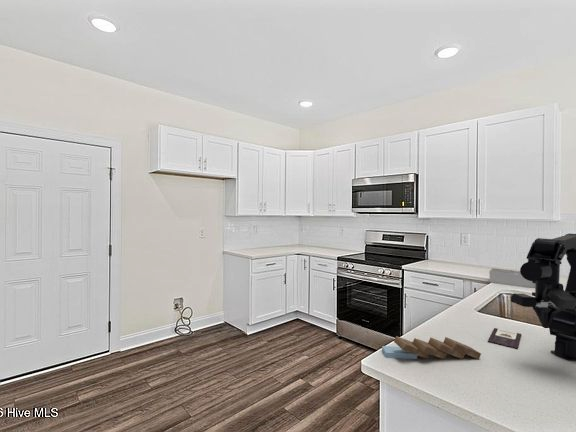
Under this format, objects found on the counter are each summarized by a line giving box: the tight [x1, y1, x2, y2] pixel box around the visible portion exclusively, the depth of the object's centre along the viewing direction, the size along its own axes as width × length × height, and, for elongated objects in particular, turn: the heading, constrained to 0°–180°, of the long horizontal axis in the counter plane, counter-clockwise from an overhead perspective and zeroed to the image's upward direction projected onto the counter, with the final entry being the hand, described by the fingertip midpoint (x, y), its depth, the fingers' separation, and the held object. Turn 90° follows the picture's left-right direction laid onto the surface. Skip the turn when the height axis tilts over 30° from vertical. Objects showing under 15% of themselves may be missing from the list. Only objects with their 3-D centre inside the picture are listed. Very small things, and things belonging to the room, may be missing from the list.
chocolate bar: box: [487, 327, 522, 350], centre depth 120 cm, size 9×1×18 cm
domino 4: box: [427, 337, 466, 360], centre depth 103 cm, size 2×5×10 cm
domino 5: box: [442, 336, 482, 360], centre depth 103 cm, size 2×5×10 cm
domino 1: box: [381, 345, 418, 360], centre depth 103 cm, size 2×5×10 cm
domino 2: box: [393, 335, 430, 359], centre depth 101 cm, size 2×5×10 cm
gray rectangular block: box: [488, 267, 536, 289], centre depth 220 cm, size 17×28×9 cm, turn 51°
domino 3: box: [412, 337, 448, 360], centre depth 101 cm, size 2×5×10 cm
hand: (545, 327), depth 98 cm, fingers closed
